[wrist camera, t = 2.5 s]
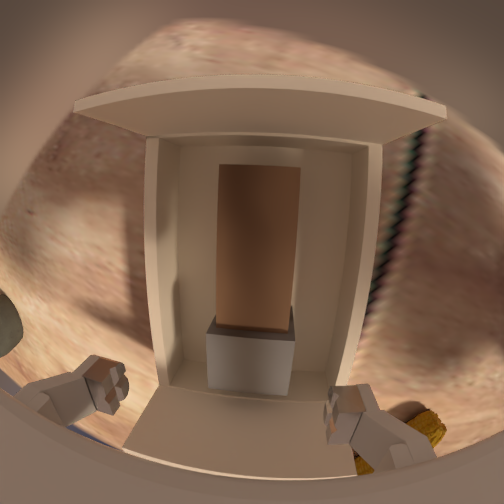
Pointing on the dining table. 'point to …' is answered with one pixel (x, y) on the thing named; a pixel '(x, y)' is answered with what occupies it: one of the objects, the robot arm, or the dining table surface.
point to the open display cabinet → (306, 257)
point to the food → (423, 424)
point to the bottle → (9, 326)
